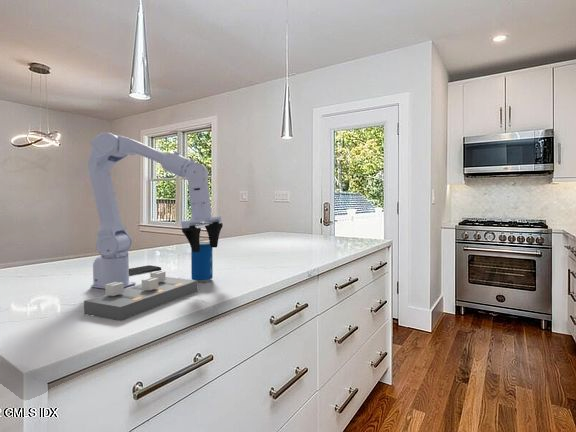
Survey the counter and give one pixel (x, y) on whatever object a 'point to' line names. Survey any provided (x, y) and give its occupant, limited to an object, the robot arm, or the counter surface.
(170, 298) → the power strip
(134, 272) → the phone
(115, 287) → the switch
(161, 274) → the switch
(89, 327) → the counter surface
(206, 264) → the beverage can
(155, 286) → the switch
